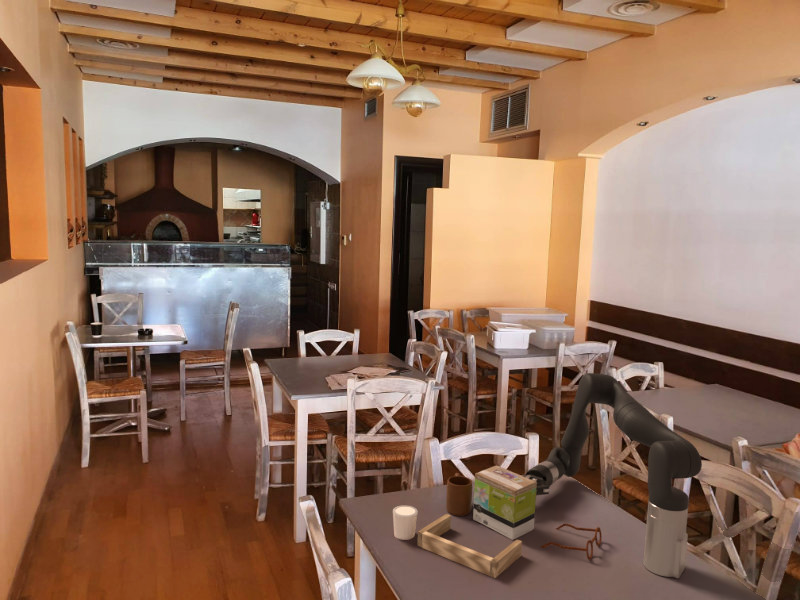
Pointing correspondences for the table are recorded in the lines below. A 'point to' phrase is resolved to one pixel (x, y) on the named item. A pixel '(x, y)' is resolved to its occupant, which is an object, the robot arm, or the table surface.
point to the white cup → (404, 522)
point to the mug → (459, 495)
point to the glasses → (577, 547)
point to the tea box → (504, 501)
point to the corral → (466, 549)
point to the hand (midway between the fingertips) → (516, 493)
